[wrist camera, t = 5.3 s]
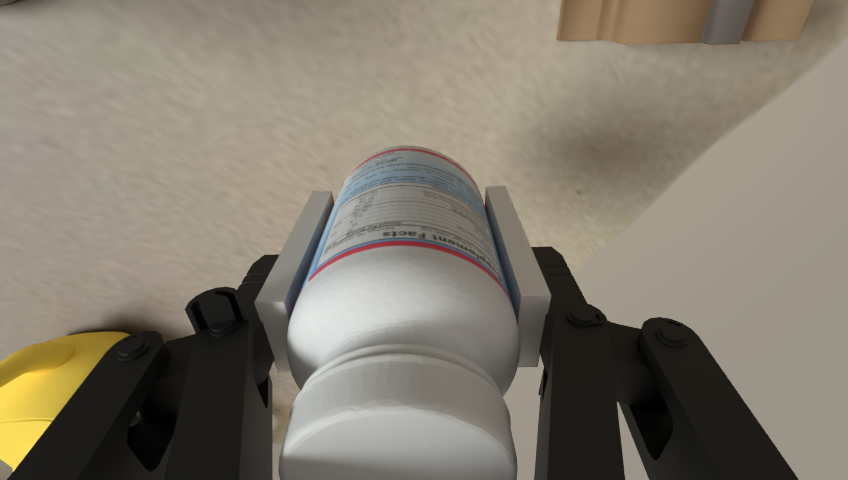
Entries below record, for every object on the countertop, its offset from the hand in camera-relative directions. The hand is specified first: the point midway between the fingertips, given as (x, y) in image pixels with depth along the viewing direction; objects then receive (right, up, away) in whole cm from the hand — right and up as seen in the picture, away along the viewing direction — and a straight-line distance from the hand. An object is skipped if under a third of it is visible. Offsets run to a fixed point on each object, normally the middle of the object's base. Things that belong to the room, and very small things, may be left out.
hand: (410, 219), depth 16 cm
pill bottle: (0, +1, +1) cm, 1 cm away
